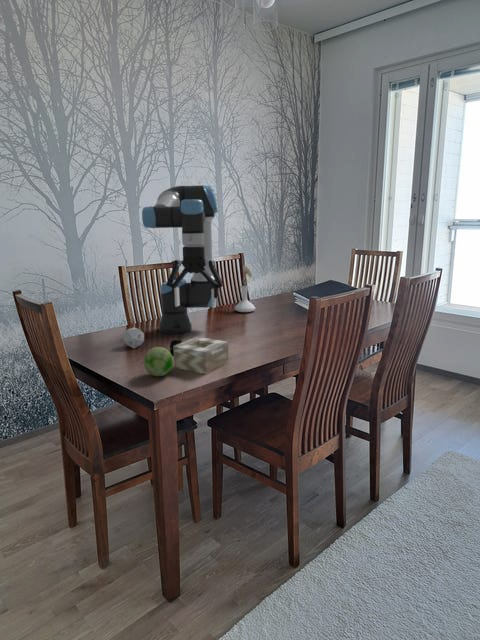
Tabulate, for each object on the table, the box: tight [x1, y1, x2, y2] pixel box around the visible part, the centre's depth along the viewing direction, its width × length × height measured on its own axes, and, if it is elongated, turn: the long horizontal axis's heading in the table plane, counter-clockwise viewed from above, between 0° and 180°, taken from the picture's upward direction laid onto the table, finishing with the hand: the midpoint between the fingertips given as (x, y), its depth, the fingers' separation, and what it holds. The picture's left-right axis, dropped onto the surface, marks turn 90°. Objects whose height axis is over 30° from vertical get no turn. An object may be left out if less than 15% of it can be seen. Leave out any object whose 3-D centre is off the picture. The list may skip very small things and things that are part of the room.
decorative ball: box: [143, 346, 174, 377], centre depth 157 cm, size 10×10×10 cm
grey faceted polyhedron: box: [123, 326, 145, 350], centre depth 191 cm, size 8×9×10 cm
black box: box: [168, 339, 183, 357], centre depth 184 cm, size 13×8×5 cm, turn 160°
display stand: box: [173, 336, 229, 375], centre depth 167 cm, size 14×14×8 cm
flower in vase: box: [234, 265, 256, 313], centre depth 251 cm, size 13×11×25 cm
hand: (195, 306), depth 164 cm, fingers open, 13 cm apart
